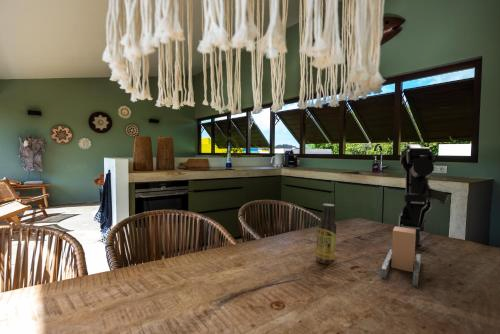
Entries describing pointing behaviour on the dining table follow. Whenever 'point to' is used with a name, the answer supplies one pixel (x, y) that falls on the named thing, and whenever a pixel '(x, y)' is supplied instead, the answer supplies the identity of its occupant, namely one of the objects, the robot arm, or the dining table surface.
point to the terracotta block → (403, 248)
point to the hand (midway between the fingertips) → (418, 226)
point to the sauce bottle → (326, 235)
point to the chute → (388, 262)
